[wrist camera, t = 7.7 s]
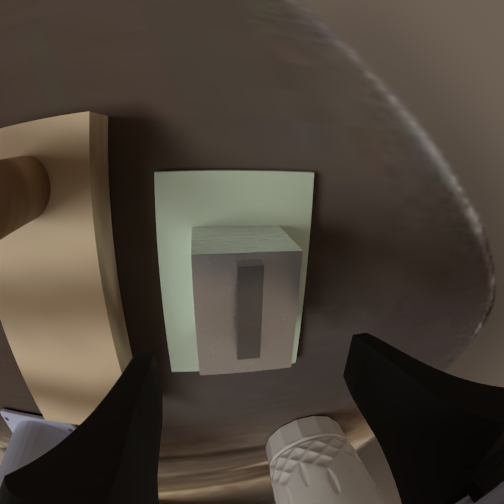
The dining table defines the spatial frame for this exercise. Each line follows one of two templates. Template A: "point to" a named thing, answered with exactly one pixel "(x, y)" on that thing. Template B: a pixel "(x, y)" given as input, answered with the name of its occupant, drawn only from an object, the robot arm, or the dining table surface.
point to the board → (220, 214)
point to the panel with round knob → (60, 263)
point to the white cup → (317, 465)
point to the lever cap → (244, 297)
